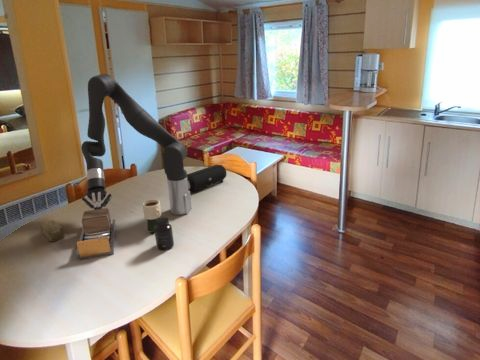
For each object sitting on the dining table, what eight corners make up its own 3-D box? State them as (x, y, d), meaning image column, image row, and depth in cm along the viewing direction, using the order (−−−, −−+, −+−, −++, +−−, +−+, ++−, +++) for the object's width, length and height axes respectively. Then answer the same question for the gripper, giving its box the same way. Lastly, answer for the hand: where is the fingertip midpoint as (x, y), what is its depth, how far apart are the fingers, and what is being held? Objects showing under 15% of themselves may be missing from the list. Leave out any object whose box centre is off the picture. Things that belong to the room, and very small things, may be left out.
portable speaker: (192, 195, 182) (190, 178, 178) (181, 190, 188) (179, 173, 185) (227, 181, 198) (227, 165, 194) (216, 177, 205) (215, 161, 201)
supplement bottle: (157, 242, 140) (154, 216, 136) (174, 240, 141) (171, 214, 136) (155, 251, 134) (151, 224, 129) (173, 250, 134) (170, 223, 130)
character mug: (169, 230, 148) (165, 203, 143) (155, 237, 144) (151, 209, 139) (154, 222, 155) (151, 196, 150) (140, 228, 151) (136, 202, 146)
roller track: (84, 229, 151) (81, 215, 148) (116, 224, 154) (113, 210, 152) (77, 260, 130) (73, 244, 127) (113, 254, 133) (110, 238, 130)
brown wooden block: (86, 224, 148) (83, 210, 146) (111, 220, 151) (108, 207, 148) (84, 233, 141) (81, 219, 139) (110, 229, 144) (107, 215, 141)
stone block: (51, 243, 142) (48, 233, 140) (41, 234, 149) (39, 223, 147) (66, 237, 145) (63, 227, 144) (55, 228, 153) (53, 218, 151)
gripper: (78, 178, 152) (80, 215, 146) (109, 175, 156) (113, 211, 149) (82, 185, 159) (84, 221, 153) (112, 181, 162) (115, 216, 156)
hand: (98, 216), depth 151 cm, fingers closed
